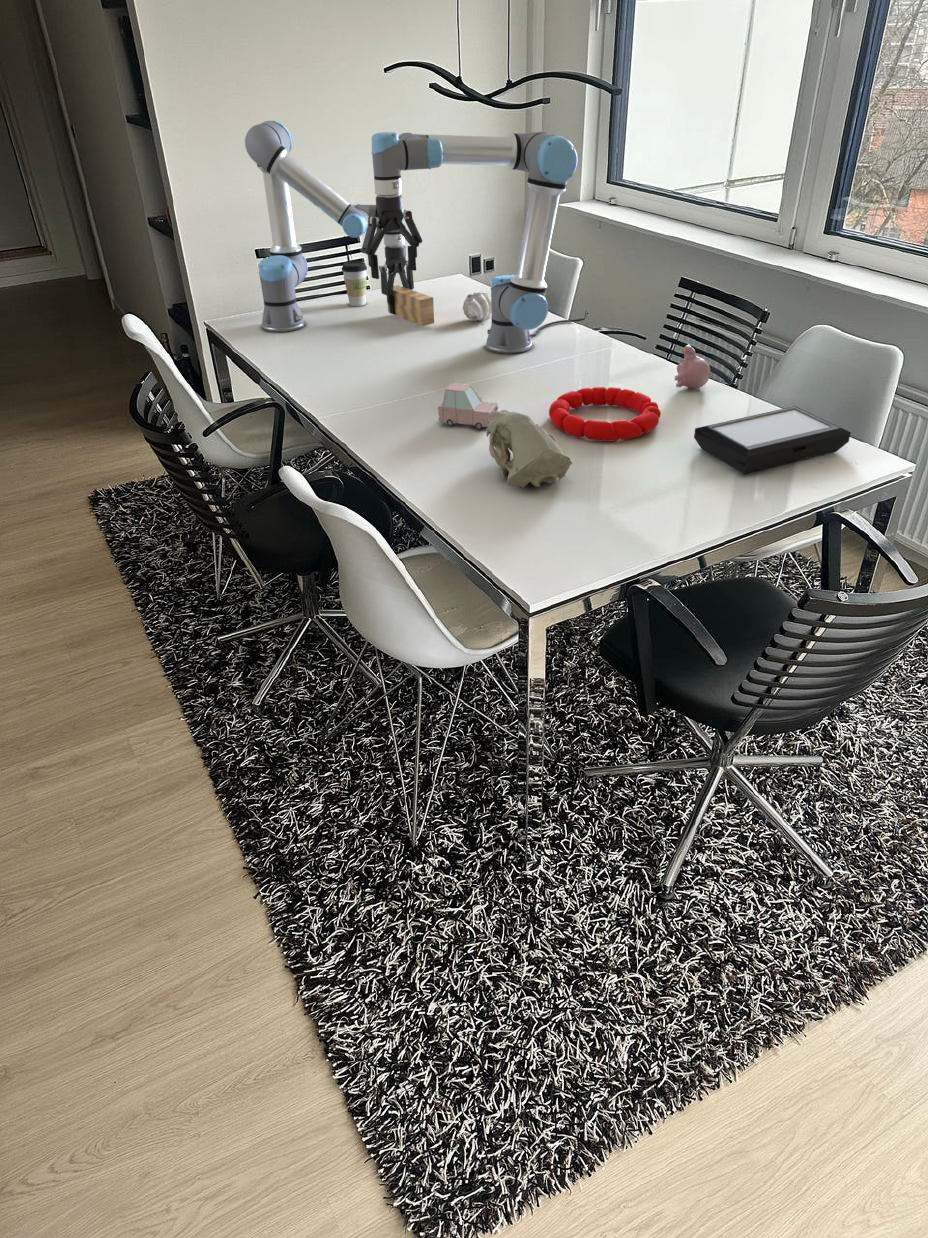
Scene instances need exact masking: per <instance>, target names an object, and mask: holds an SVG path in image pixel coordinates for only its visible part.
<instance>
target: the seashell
mask: <svg viewBox="0 0 928 1238" xmlns="http://www.w3.org/2000/svg"><path fill="white" fill-rule="evenodd" d="M462 311H463V315H465V317H466V318H467V319H468V320H470V321H472V322H476V321H487V320H488V319H489V318H490V317H492V316H491V295H489V294H488V293H484V292H474V293H472V294H471V293H470V294H467V296H466V297H465V299H464V300H463V305H462Z"/></svg>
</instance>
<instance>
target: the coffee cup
mask: <svg viewBox="0 0 928 1238" xmlns="http://www.w3.org/2000/svg"><path fill="white" fill-rule="evenodd" d="M367 270H368V266H367V264H366V262H365V261H359V260H353V261H351V260H350V261H346V262H344V263H342V266H341V271H342V273H343V280H344V285H345V289H346V295H347V298H348V302H349V306H351V307H362V306H365V305H366V303H367V301H366V300H367V299H366V298H367Z"/></svg>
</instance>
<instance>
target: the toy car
mask: <svg viewBox="0 0 928 1238" xmlns="http://www.w3.org/2000/svg"><path fill="white" fill-rule="evenodd" d="M498 409H499V404H498V403H497V402H490V401H489V402H487V401H483V397H481V396H480V395H479V394H478V393H477V391H476V390H475V389H474V386H472V384H469V383H459V382H451V383H450V384H449V385H448V386H447V387H446V388H445V389H444V394H443V399H442V403H440V404H439V405H438V406H437V413H438V421H439V422H443V423H446V425H447V426H448V427H452V426H454V425H455V424H461V425H469V426H473V427H475V429H476V430H479V431H480V430H481V429H483V428H485V427H486V428H487V423H488V422H490V414H491V413H492V412H496V411H499V410H498Z"/></svg>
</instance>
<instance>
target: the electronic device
mask: <svg viewBox="0 0 928 1238" xmlns="http://www.w3.org/2000/svg"><path fill="white" fill-rule="evenodd" d="M851 433H852V432H851V431H849V430H847V429H845V428H843V427H841V426H839V425H836V424H834V423H832V422H830V421H829V420H825V419H824V418H821V417H819V416H818V415H815V414H814V413H811V412H809V411H806V410H805V409H803V408H800V407H798V406H796V405H793V406H790V407H785V408H781V409H775V410H771V411H767V412H762V413H757V414H754V415H748V416H743V417H740V418H736V419H730V420H726V421H721V422H717V423H713V424H708V425H704V426H700V427H694V435H693V438H694V440H695V441H696V443H697V444H698V446H699V447H700V449H701V450H703V451H704V452H706V453H708V454H709V455H711V456H713V457H715V458H716V459H718V460H720V461H722V462H723V463H725V464H727V465H728V466H730V467H732V468H734V469H736V470H737V471H739V472H740V473H742V474H743V475H745V474H748V473H752V472H758V471H761V470H765V469H769V468H773V467H777V466H782V465H785V464H790V463H794V462H798V461H802V460H806V459H810V458H814V457H817V456H818V457H819V456H823V455H826V454H830V453H835V452H838V451H839V450H840V449H842V448H843V447H844V446H845V445H847V444H848V443H849V442H850V437H851Z"/></svg>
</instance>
